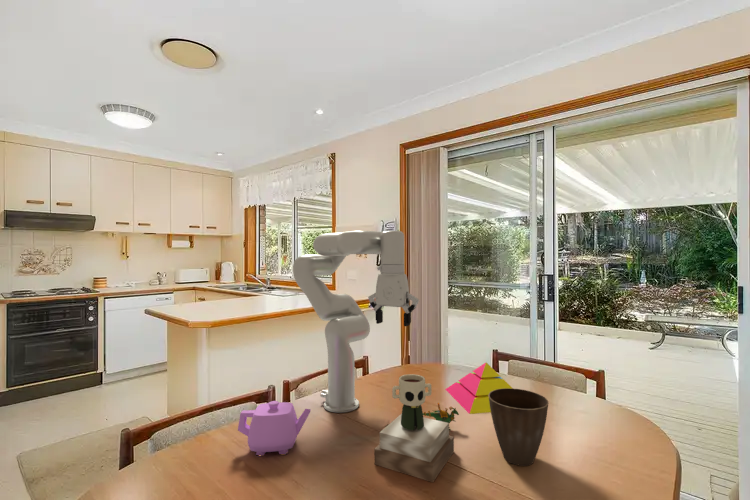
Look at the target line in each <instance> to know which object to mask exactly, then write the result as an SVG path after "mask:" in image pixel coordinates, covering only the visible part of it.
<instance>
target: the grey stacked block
mask: <svg viewBox="0 0 750 500" xmlns="http://www.w3.org/2000/svg"><path fill="white" fill-rule="evenodd" d="M401 415H402V413H401V414H399V415H398V416H397V417H396V418H394V419H393V421H391V422H390V423H389V424H388V425H387V426H386V427H384V428H383V429H382V430H381V431H379V444H378V445H377V446H376V447H375V448H374V453H373V454H374V457H373V458H374V466H375V465H376V466H379V467H382V468H385V469H388V470H391V471H394V472H398V473H402V474H405V475H409V476H411V477H414V478H418V479H420V480H424V481H426V482H430V483H434V481H436V479H437V478H438V476H439V474H440V473H441V472H442V470H443V468H444V467H445V465H446V464H447V463H448V461H449V459H450V458H451V457H452V456H453V453H454V452H455V442H454V441H455V440H454V439H455V438H454V436H452V435H450V430H449V429H450V428H449V427H450V423H447V422H442V421H438V420H436V419H432V418H430V417H429V418H428V417H425V416H423V419H424V427H423V428H421V429H419V430H417V426H415V427H414V430H408V429H405V428H403V427H402V425H401Z"/></svg>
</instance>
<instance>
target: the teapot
mask: <svg viewBox="0 0 750 500" xmlns="http://www.w3.org/2000/svg"><path fill="white" fill-rule="evenodd" d="M311 410H312V409H311V408H304V411H302V413H301V415H300V416H299V417H297V412H296V409H295V407H294V404H293V403H292V402H286V401H282V402H279V401H278V400H272V401H269V402H267V403H266V402H265V403H260V404H258V405H257V407H256V408H255V409H251V410H250V409H249V410H244V409H243V410H242V411H241V412H240V413H239V419H238V426H237V431H238V432H239V433H242V434H243V435H245V436H246V437H247V446H248V448H249V450H250V451H251V452H256V453H255V456H256V455H261V456H260V457H262V455H263V456H265V455H266V453H271V452H272V453H273V452H278V454H279V455H280V454H285V455H287V454H288V453H289V450H291V449H292V448H293V447H294V445H295V443H296V441H297V438H298V435H299V434H300V433H301V430H302V428H303V426H304V424H305V423H306V420H307V419H308V417H309V415H310V413H311ZM247 418H251V421H250V424H248V423H247ZM287 452H288V453H287ZM286 453H287V454H286ZM264 454H265V455H264Z"/></svg>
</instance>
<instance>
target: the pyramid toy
mask: <svg viewBox="0 0 750 500" xmlns="http://www.w3.org/2000/svg"><path fill="white" fill-rule="evenodd" d="M503 388H513V387H512V386H511V385H510V384H509V383H508V382H507V381H506V380H505V379H504V378H503V377H501V375H500V374H499V373H498V372H497V371H496V370H495V369H494V368H493V367H492V366H491V365H490V364H489V363H488V362H487V361H486V362H484V363H483V364H481V365H479V366H478V367H476V368H475V369H474V370H472V372H469V373H468V374H466V375H465V376H463V377H462V378H460V379H458V381H456V382H454V383H453V384H451V385H449V386H448V387H447V388H445V391H446V392H447V393H448V394H449V396H451V397H452V398H453V399H454V400H455V401H456V402H457V403H458V404H459V405H460V406H461V407H462V408H463V409H464V410H465V411H466V413H467V414H469V415H473V414H475V415H476V414H484V413H485V414H486V413H491V410H490V403H489V396H488V395H489V393H490V392H491V391H493V390H496V389H503Z"/></svg>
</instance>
